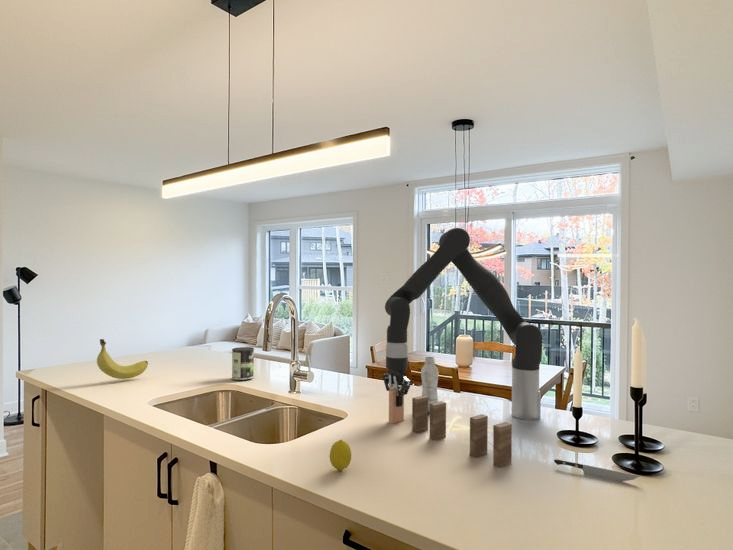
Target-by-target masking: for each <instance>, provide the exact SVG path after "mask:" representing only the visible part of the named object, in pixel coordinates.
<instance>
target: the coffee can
mask: <svg viewBox="0 0 733 550" xmlns="http://www.w3.org/2000/svg"><path fill="white" fill-rule="evenodd" d="M254 351H255V348H253V347H249V346H245V347H244V346H243V347H242V346H241V347H234V348H231V352H232V357H231V359H232V361H231V362H232V364H231V366H232V368H231V371H232V373H231V374H232V375H231V378H232V380H236V381H237V380H239V381H240V380H241V381H243V380H250V379H253V378H254V376H255V375H254V370H255V369H254V357H255V356H254V355H255V354H254V353H255V352H254Z"/></svg>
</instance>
